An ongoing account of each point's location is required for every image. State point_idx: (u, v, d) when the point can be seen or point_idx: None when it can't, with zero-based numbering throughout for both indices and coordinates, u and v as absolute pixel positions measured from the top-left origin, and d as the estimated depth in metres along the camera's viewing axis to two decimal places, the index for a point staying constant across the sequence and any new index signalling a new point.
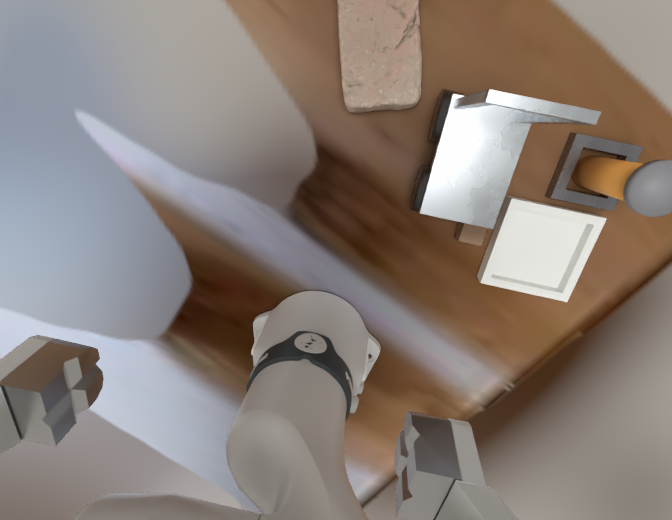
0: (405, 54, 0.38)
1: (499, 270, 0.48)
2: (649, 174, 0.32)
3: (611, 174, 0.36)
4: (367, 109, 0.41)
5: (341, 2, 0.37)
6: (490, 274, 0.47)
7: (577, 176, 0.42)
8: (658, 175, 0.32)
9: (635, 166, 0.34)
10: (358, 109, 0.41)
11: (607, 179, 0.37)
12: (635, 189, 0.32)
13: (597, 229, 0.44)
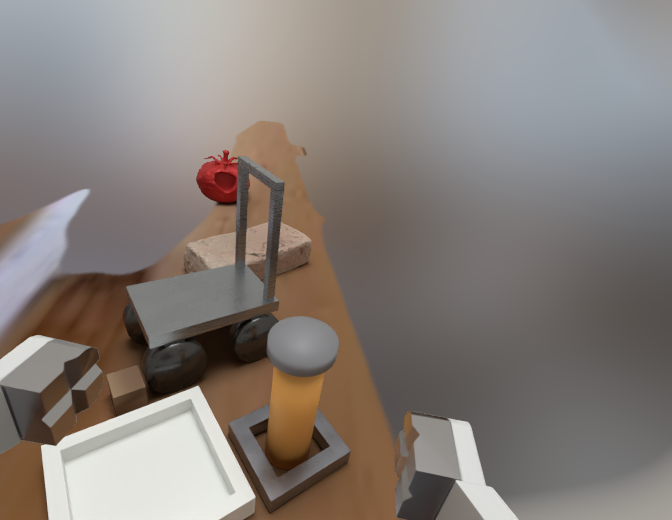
0: None
1: (78, 472, 0.27)
2: (304, 321, 0.27)
3: None
4: (191, 260, 0.49)
5: (248, 229, 0.56)
6: (66, 445, 0.27)
7: None
8: (310, 327, 0.26)
9: None
10: (188, 253, 0.49)
11: None
12: (283, 323, 0.26)
13: (233, 503, 0.25)
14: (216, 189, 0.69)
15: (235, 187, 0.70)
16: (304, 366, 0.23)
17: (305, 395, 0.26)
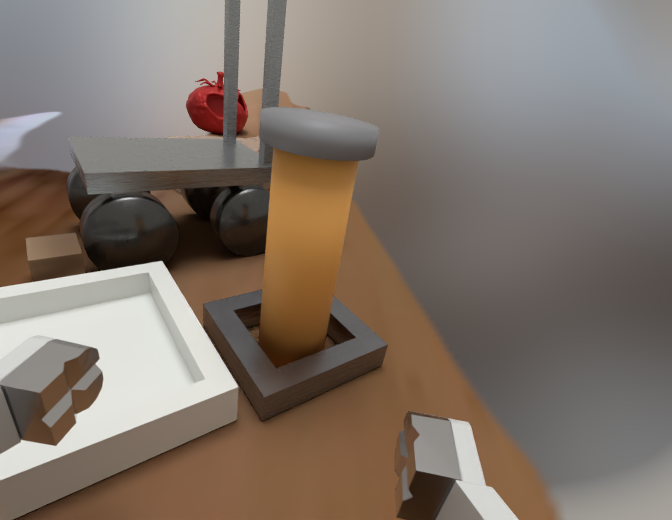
0: None
1: None
2: (320, 112, 0.17)
3: None
4: None
5: (248, 138, 0.46)
6: None
7: None
8: (330, 116, 0.16)
9: None
10: None
11: None
12: (286, 108, 0.16)
13: (199, 393, 0.15)
14: (208, 114, 0.60)
15: None
16: (324, 131, 0.13)
17: (322, 215, 0.15)
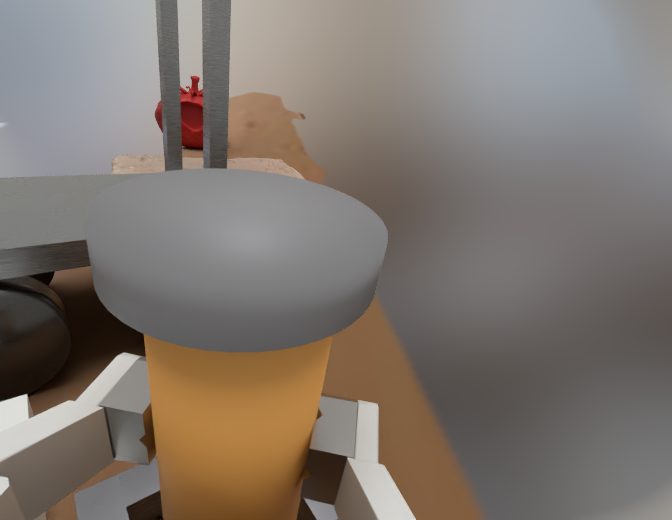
0: None
1: None
2: (262, 179, 0.08)
3: None
4: None
5: None
6: None
7: None
8: (282, 191, 0.08)
9: None
10: None
11: None
12: (186, 175, 0.07)
13: None
14: None
15: None
16: (228, 290, 0.04)
17: (256, 431, 0.07)
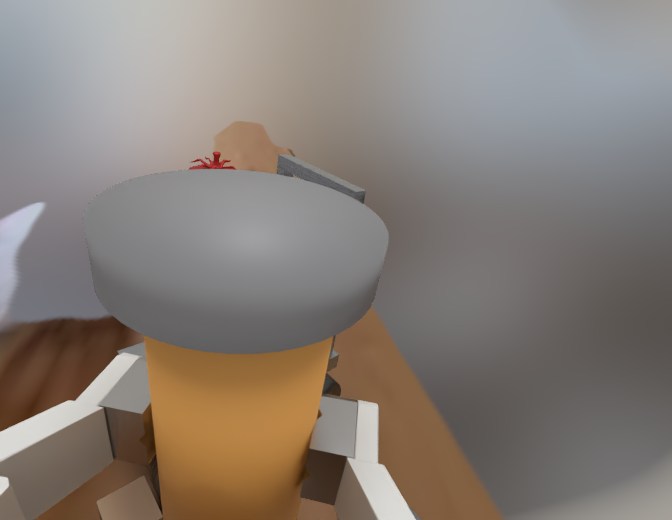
0: None
1: None
2: (262, 180, 0.08)
3: None
4: None
5: None
6: None
7: None
8: (282, 192, 0.08)
9: None
10: None
11: None
12: (185, 175, 0.07)
13: None
14: None
15: None
16: (228, 291, 0.04)
17: (257, 433, 0.07)
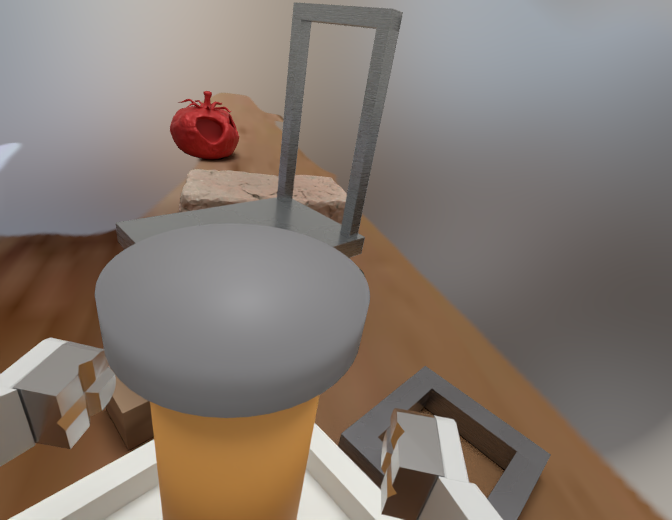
0: (235, 192, 0.36)
1: None
2: (257, 235, 0.09)
3: None
4: None
5: None
6: None
7: None
8: (274, 248, 0.08)
9: None
10: None
11: None
12: (186, 235, 0.08)
13: None
14: (199, 139, 0.54)
15: (223, 137, 0.55)
16: (222, 369, 0.05)
17: (251, 476, 0.07)
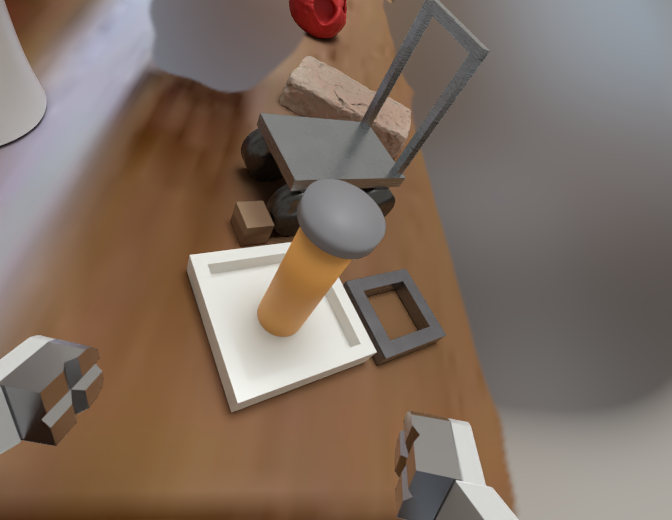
0: (327, 91, 0.46)
1: (219, 287, 0.28)
2: (353, 192, 0.21)
3: None
4: None
5: (371, 91, 0.51)
6: (212, 261, 0.27)
7: None
8: (358, 202, 0.21)
9: None
10: None
11: None
12: (328, 183, 0.21)
13: (359, 352, 0.28)
14: (311, 16, 0.59)
15: (333, 21, 0.60)
16: (336, 242, 0.18)
17: (322, 274, 0.21)
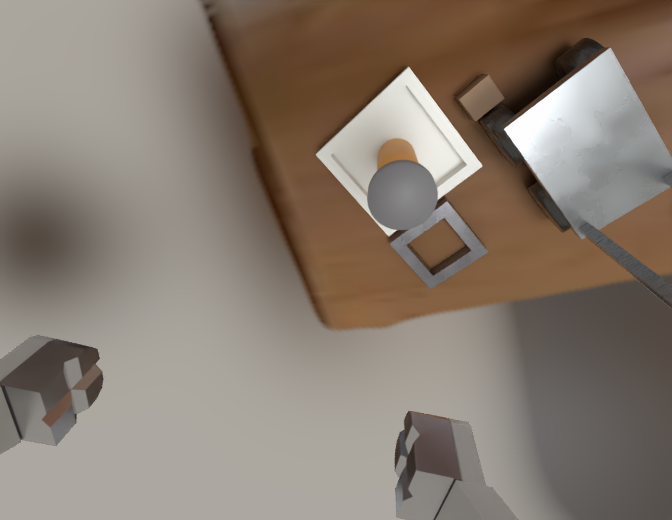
0: None
1: (399, 101, 0.34)
2: (428, 198, 0.26)
3: None
4: None
5: None
6: (411, 87, 0.32)
7: (408, 144, 0.34)
8: (419, 204, 0.26)
9: None
10: None
11: None
12: (424, 177, 0.25)
13: None
14: None
15: None
16: (367, 198, 0.26)
17: None
